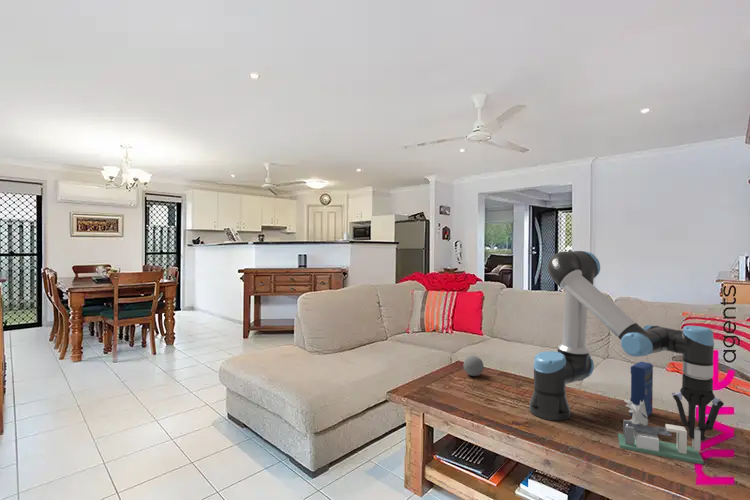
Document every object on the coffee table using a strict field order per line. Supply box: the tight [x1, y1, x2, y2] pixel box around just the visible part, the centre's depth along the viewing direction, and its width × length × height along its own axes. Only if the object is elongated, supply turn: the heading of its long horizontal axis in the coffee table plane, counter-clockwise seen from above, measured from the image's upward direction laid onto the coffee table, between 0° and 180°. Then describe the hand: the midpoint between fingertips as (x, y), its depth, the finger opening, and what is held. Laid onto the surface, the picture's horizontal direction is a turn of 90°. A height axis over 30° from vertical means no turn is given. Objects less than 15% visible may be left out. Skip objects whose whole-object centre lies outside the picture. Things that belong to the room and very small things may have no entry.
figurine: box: [623, 398, 649, 426], centre depth 144 cm, size 11×8×12 cm
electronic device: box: [629, 361, 654, 419], centre depth 156 cm, size 10×5×20 cm, turn 127°
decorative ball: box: [463, 355, 485, 377], centre depth 203 cm, size 10×10×10 cm
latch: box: [665, 423, 688, 454], centre depth 129 cm, size 5×4×7 cm
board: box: [617, 419, 705, 465], centre depth 131 cm, size 22×9×7 cm, turn 63°
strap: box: [625, 422, 672, 437], centre depth 132 cm, size 12×4×2 cm, turn 63°
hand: (696, 448), depth 126 cm, fingers closed
